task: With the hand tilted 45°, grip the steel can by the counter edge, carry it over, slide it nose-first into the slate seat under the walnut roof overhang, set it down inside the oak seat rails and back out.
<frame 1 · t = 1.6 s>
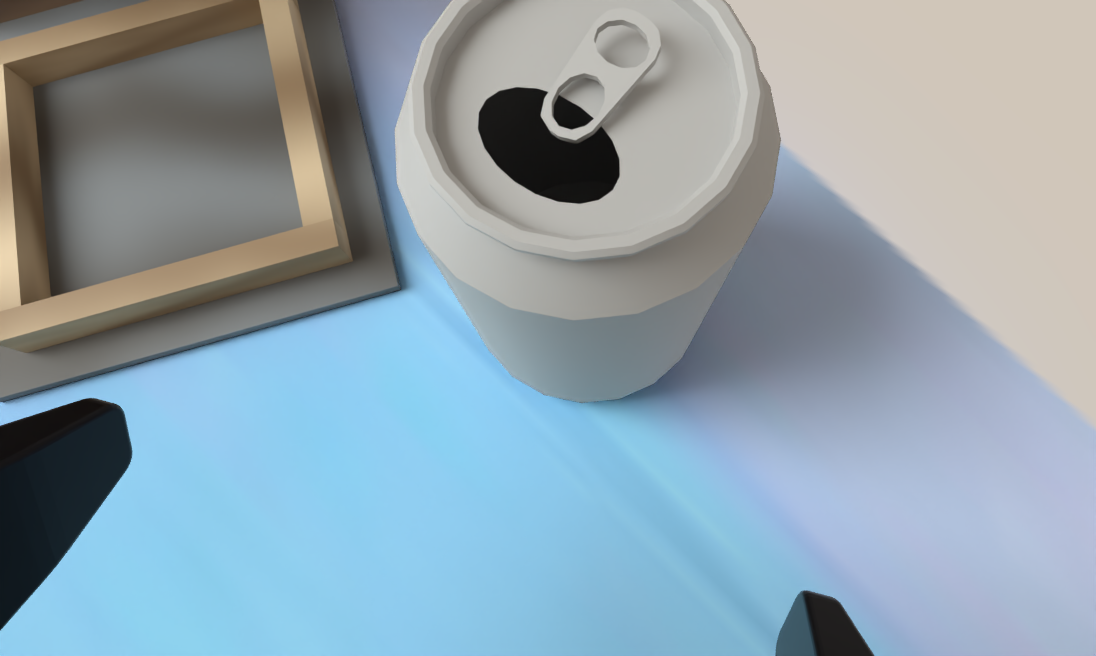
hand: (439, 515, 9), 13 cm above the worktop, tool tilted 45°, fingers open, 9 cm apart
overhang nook: (175, 166, 26), on the worktop
can: (587, 297, 24), on the worktop
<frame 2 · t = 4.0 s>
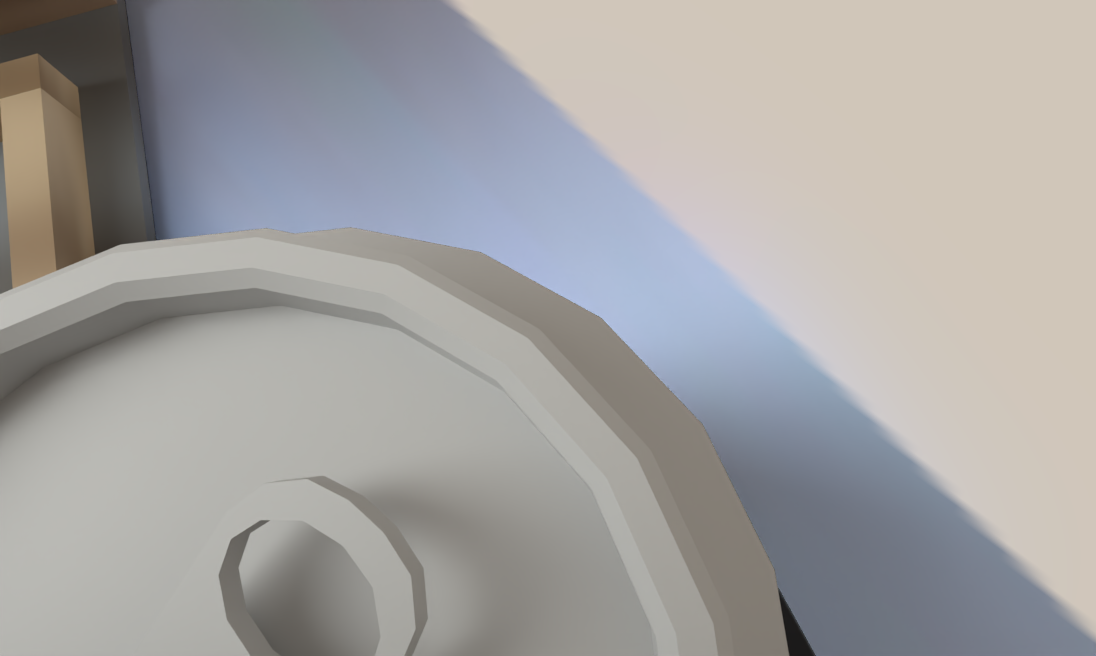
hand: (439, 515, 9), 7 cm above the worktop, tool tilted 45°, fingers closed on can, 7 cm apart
can: (486, 583, 15), on the worktop, touching gripper
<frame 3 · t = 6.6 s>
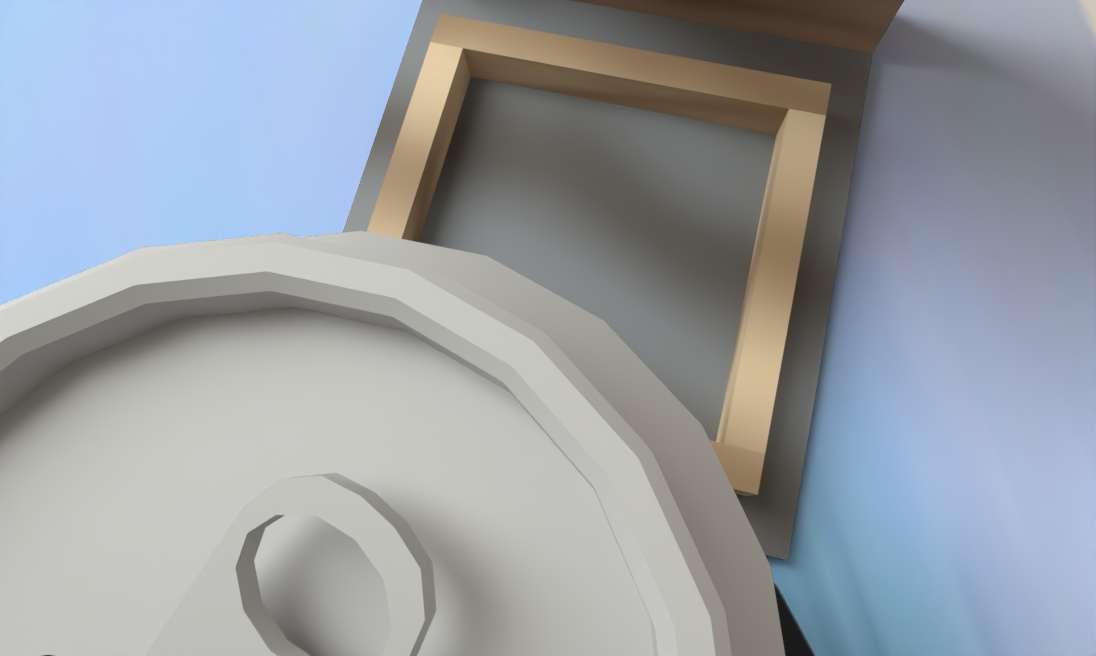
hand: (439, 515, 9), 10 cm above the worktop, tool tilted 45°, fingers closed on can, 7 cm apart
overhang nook: (583, 252, 21), on the worktop
can: (488, 580, 15), point 3 cm above the worktop, touching gripper
when the fingers open (8 cm above the worktop, at t = 9.3 s): can stays where it is, resting on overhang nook.
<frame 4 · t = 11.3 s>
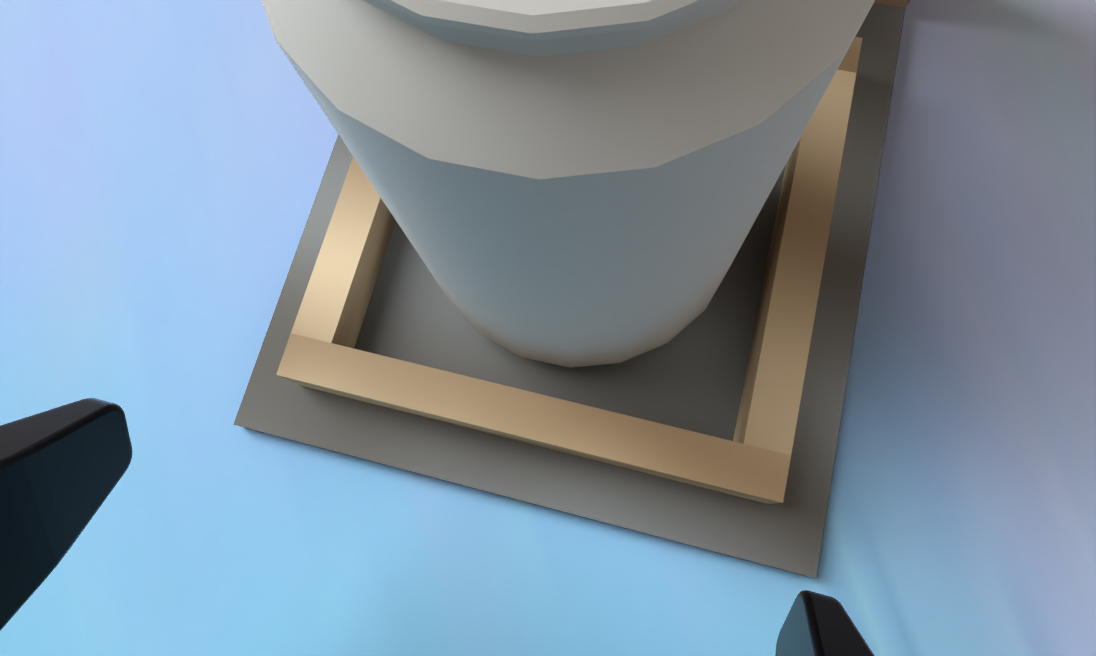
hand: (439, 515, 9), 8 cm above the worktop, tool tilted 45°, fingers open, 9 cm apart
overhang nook: (581, 229, 19), on the worktop
can: (580, 233, 18), resting on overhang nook
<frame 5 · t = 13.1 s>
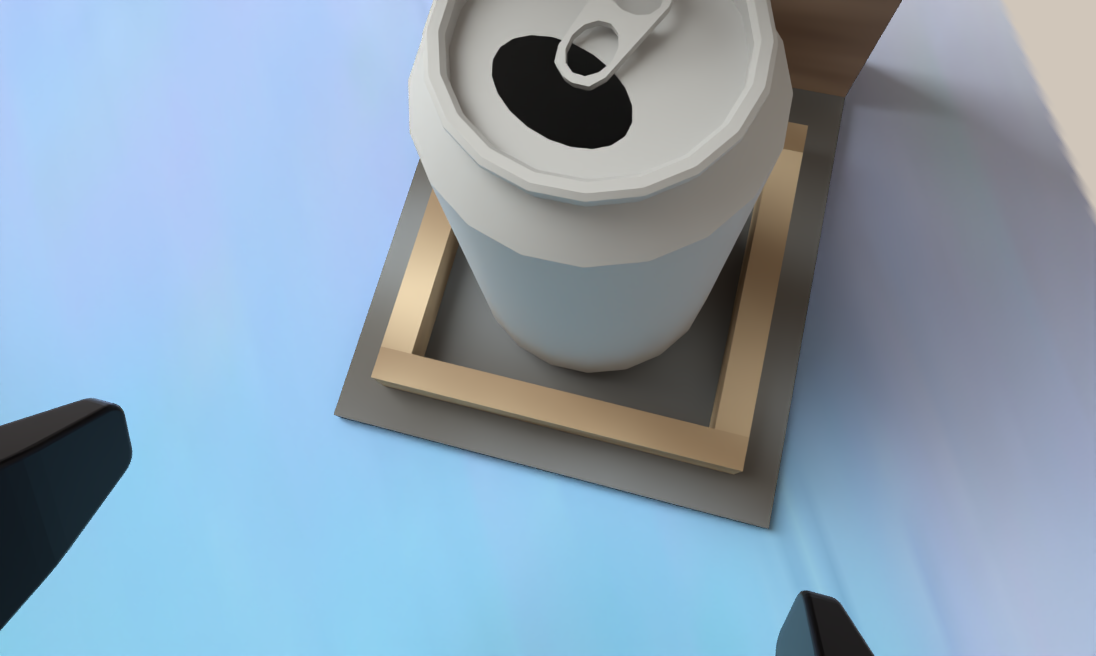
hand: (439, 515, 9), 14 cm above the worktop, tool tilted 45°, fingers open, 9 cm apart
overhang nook: (595, 267, 24), on the worktop
can: (595, 270, 24), resting on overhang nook
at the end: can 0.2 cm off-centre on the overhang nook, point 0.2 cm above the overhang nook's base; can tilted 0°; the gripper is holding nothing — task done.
